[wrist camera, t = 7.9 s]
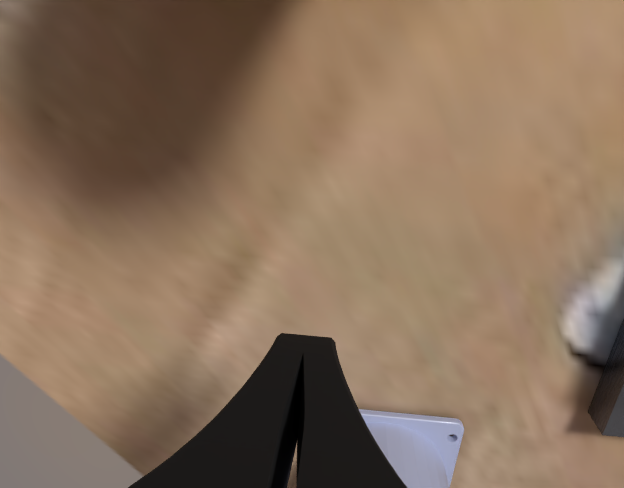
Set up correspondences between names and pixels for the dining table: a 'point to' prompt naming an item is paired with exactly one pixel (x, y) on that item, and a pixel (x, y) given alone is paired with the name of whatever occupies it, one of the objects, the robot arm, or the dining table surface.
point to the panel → (611, 393)
